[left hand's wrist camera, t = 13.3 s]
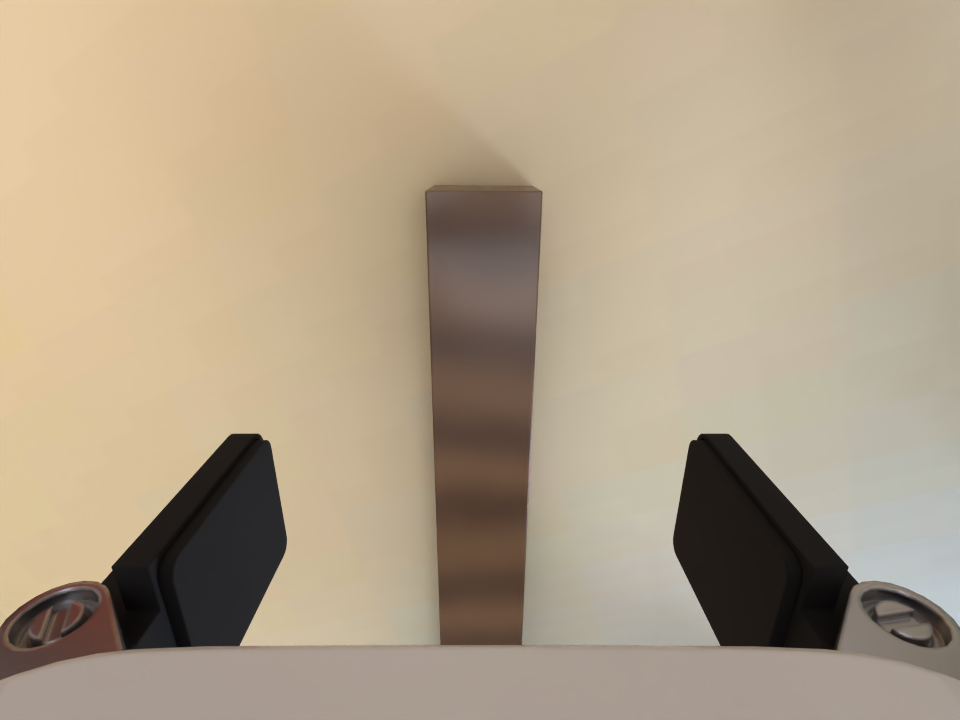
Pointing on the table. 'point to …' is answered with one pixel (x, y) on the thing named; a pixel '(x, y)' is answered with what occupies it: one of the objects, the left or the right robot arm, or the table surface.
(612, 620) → the table surface
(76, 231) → the table surface
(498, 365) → the beam
